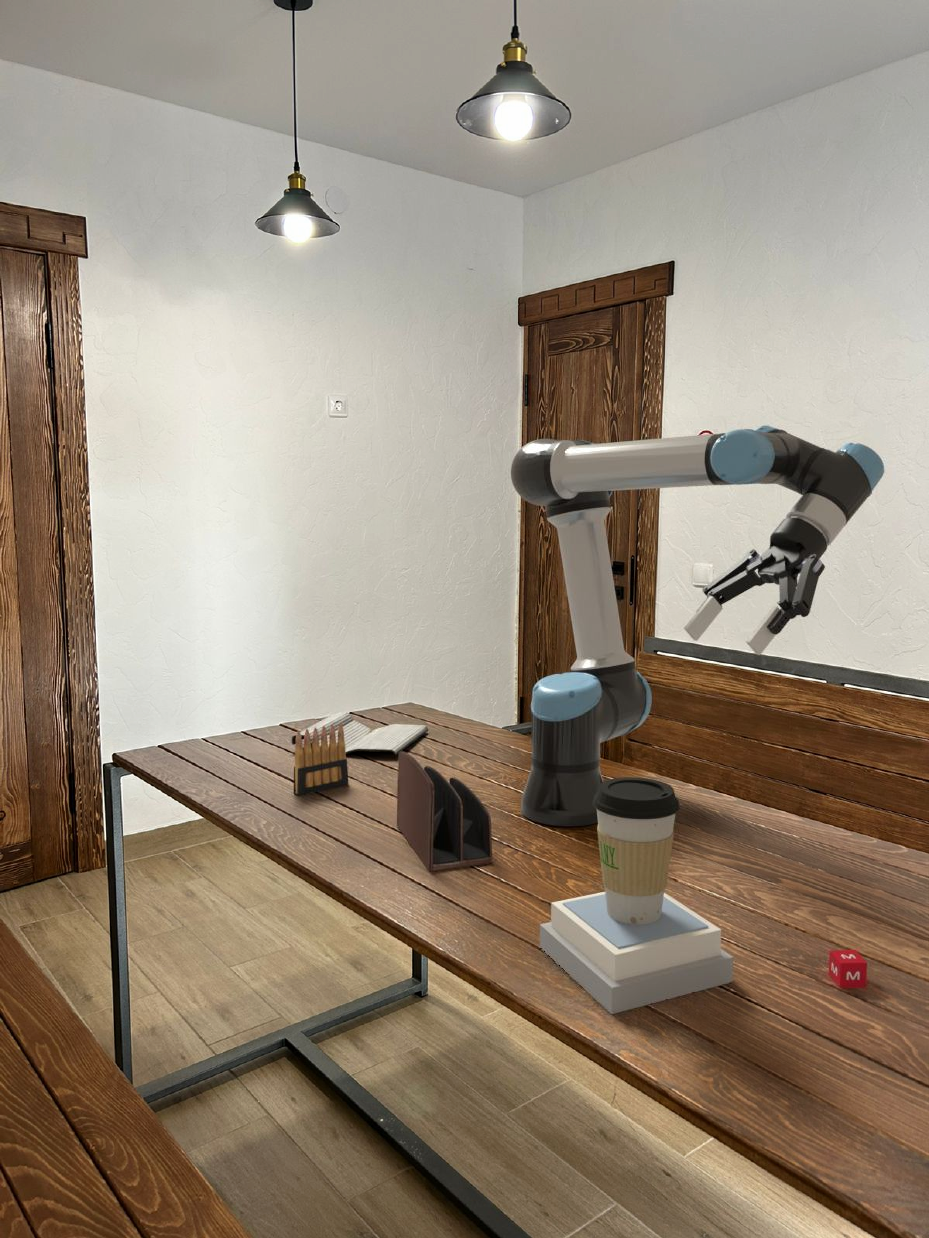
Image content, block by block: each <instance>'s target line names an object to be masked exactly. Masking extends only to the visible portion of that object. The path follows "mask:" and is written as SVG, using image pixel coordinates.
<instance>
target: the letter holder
mask: <svg viewBox="0 0 929 1238" xmlns="http://www.w3.org/2000/svg"><path fill="white" fill-rule="evenodd" d="M397 755H398V756H397V758H398V759H397V760H398V761H397V763H398V766H397V790H396V797H397V798H396V799H397V800H396V827H397V829H398V830H399V831H400V832H401V834H402V835H403V836H404V837H405V838H404V839H406V840H407V842H408V843H409V845H410V846H411V848H412V849H413V851H414V852H415V853H416V854H417V856H418V857H419V859H420V860H421V862H422V863H423V864H424V866H425V867H426V869H427V870H428V872H431V873H432V872H438V871H439V872H440V871H445V870H453V869H460V868H462V869H463V868H467V867H468V868H470V867H474V866H476V867H477V866H481V865H483V866H484V865H489V864H490V865H491V864H493V844H492V843H493V841H492V840H493V837H492V818H491V814H490V812H489V810H488V809H487V807H486V806H485V804H484V803H483V801H481V799H479V797H478V796H477V795H476V793H474V792H473V791H472V790H471V789H470V787H468V786H467V784H465V783H464V782H463V781H461V780H460V779H458V778H456V777H453V776H452V777H450V778H449V780H447V778H446V777H445V776H443V775H442V773H440V772H439V771H438V770H437V769H435V768H433V767H431V766H429V765H426V766H424V767H423V766H422V765H421V764H420V763H419V762H418V761H417V759H416V758H414V756H412V755H411V754H409V753H407V752H405V751H403V750H402V751H401V752H399V753H398V754H397Z"/></svg>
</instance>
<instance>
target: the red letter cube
mask: <svg viewBox="0 0 929 1238" xmlns="http://www.w3.org/2000/svg"><path fill="white" fill-rule="evenodd" d="M867 972H868V962H867V961H866V960H865V958H864V957H862V955H861V954H860V953H859V952H858V951H857V950H856V949H830V950H829V955H828V973H827V975H828V976H829V977H830V978H831V980H832V981H833V982H834V983H835V984H836V985H837V987H838V988H839V989H851V988H853V989H855V988H857V989H859V988H863V989H864V988H865V989H866V988H867V977H868V976H867V975H868V973H867Z"/></svg>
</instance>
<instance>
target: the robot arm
mask: <svg viewBox="0 0 929 1238" xmlns="http://www.w3.org/2000/svg"><path fill="white" fill-rule="evenodd" d="M884 474H885V465H884V462H883V460H882V457H881V456H880V455H879V454H878V453H877V452H876V451H875V450H874V449H872V448H871V447H869V446H867V445H865V444H864V443H859V442H858V443H854V442H848V443H845V444H843V445H842V446H841V447H840V448H838V449H837V451H832V450H830V449H828V448H827V449H826V448H825V447H822V446H818V445H816V444H813V443H811V442H809V441H806V440H805V439H802V438H800V437H797V436H795V435H793V434H791V433H788V431H786V430H784V429H780V428H776V427H773V426H770V425H768V424H767V425H761V426H759V427H758V428H756V429H750V428H746V429H745V428H742V429H733V430H730V431H728V432H723V433H709V434H707V433H706V434H697V435H685V436H675V437H663V438H661V437H660V438H652V439H640V440H639V439H638V440H630V441H629V440H627V441H617V442H615V441H614V442H605V443H593V442H590V441H586V440H582V439H576V440H573V439H572V440H571V439H570V440H569V439H568V440H567V439H553V438H540V439H535V440H532V441H529V442H528V443H526V444H524V445H523V446H522V447H521V448H520V449H518V451H517V453H515V455H514V458H513V460H512V463H511V467H510V477H511V478H510V479H511V483H512V485H513V488H514V490H515V491H516V492H517V494H518V495H519V497H520V498H522V499H523V500H525V501H526V502H528V503H529V504H532V505H535V506H540V507H544V508H545V514H546V520H547V522H549V523H550V525H551V524H552V525H553V526H554V527H555V528H556V531H557V537H558V544H559V551H560V555H561V561H562V568H563V575H564V581H565V586H566V587H565V589H566V593H567V601H568V606H569V613H570V618H571V624H572V633H573V638H574V639H573V640H574V645H575V651H576V659H575V661H574V663H573V664H572V665H571V667H570V672H563V673H561V674H560V673H555V674H551V675H547V676H545V677H543V678H541V679H540V680H538V681H537V682H536V683H535V684H534V686H533V688H532V695H531V703H530V710H531V768H530V771H529V774H528V777H527V781H526V784H525V787H524V790H523V793H522V795H521V802H520V803H521V810H520V811H521V814H522V815H523V816H524V817H525V818H527V819H529V820H530V821H533V822H536V823H538V824H544V825H549V826H554V827H555V826H557V827H583V826H589V825H594V824H598V817H597V809H596V808H595V807H594V806H593V799H594V795H595V794H596V793H597V792H598V788H599V785H600V784H601V783H602V782H604V779H603V776H602V772H601V767H600V765H601V764H600V759H601V743H604V742H607V741H609V740H612V739H615V738H617V737H622V736H625V735H628V734H630V733H631V732H632V731H634V730H635V729H637V728H639V727H640V726H641V725H642V724H643V723H644V722H645V721H646V719H647V718H648V716H649V714H650V712H651V708H652V702H653V700H652V699H653V696H652V690H651V687H650V684H649V683H648V681H647V679H646V678H645V677H643V676H642V674H641V673H640V672H638V671H637V669H636V661H635V658H634V657H633V656H631V655H630V654H629V653H627V652H626V650H625V646H624V641H623V640H624V639H623V634H622V626H621V621H620V614H619V606H618V602H617V601H618V600H617V595H616V590H615V589H616V588H615V581H614V576H613V569H612V563H611V556H610V551H609V549H610V548H609V543H608V538H607V537H608V536H607V530H606V525H605V519H606V518H607V516H608V515H609V513H610V512H611V510H612V509H611V501H610V497H611V496H612V494H613V492H614V491H626V490H627V491H630V490H645V489H646V490H647V489H648V490H649V489H666V488H667V489H668V488H669V489H670V488H684V487H685V488H686V487H687V488H688V487H704V486H705V487H707V486H708V487H709V486H729V485H730V486H733V485H736V486H737V485H738V486H739V485H740V486H742V485H755V484H759V485H779V486H780V487H783V488H785V489H788V490H791V491H793V492H795V493H798V494H799V495H801V496H800V498H799V499H798V500H797V502H796V503H795V504H794V505H793V506H792V508H791V509H790V510H789V511H788V512H787V514H786V516H785V518H783V520H781V521H780V522H779V524H778V525H777V526H776V528H775V529H774V530H773V531H772V533H771V535H770V537H769V548H768V549H767V550H765V551H764V552H762V553H758V552H757V550H756V549H755V548H751V549H749V550H748V551H747V552H746V553H745V554H744V555H743V557H741V559H740V560H738V561H737V562H735V563H734V564H733V565H731V566H730V567H729V568H728V569H726V570H725V571H724V572H722V573H721V574H720V575H718V576H716V578H714V579H713V580H712V581H710V582H708V584H707V585H705V586H704V587H702V590H701V591H702V592H703V594H704V595H705V596H706V598H705V600H704V601H703V603H701V605H700V606H699V608H698V609H696V612H695V614H694V615H693V616H692V617H691V618H690V620H689V621H688V622H687V624H686V625H685V626H684V627H683V629H684V630H685V632H686V633H687V634H688V636H690V637H691V638H692V640H693V641H696V642H697V641H698V640H699V639H700V638H701V636H702V635H704V633H705V632H706V630H707V629H708V628H709V626H710V625H711V624H712V623H714V622H713V621H715V620H716V617H718V615H719V614H720V613H721V611H723V609H724V608H723V605H724V604H726V603H727V602H729V601H731V600H732V599H734V598H736V597H738V596H740V595H741V594H743V593H745V592H747V591H748V590H750V589H752V588H754V587H756V586H758V587H762V586H764V585H765V584H775V585H777V586H779V588H778V589H779V601H777V602H776V603H777V605H778V606H779V607H778V606H777V605H773V606H772V607H771V609H770V610H769V611H768V612H767V614H766V615H765V617H763V619H762V620H760V622H759V624H758V625H757V626H756V627H755V629H754V630H753V632H751V634H750V635H749V636H748V638H747V639H746V640H745V643H746V644H747V645H748V646H749V648H750V649H751V651H753V652H754V653H755V655H757V656H761V654H763V652H764V651H765V649H766V648H767V647H768V646H769V645H770V643H771V642H772V640H773V639H774V638H775V636H777V635H778V634H780V633H781V632H782V630H783V629H784V628H785V627H786V625H788V623H789V621H791V620H793V619H796V617H797V616H801V617H802V618H806V617H808V616H809V615H810V613H811V609H812V605H813V601H814V597H815V593H816V590H817V585H818V581H819V577H820V576H821V575H822V574H823V572H824V570H825V568H826V565H824V563H823V562H822V560H821V558H822V556H823V555H824V554H825V552H826V551H827V549H828V547H829V546H830V545H832V543H833V542H834V540H835V539H836V538H837V536H839V534H840V532H841V531H842V530H843V529H844V527H845V526H846V525H847V524H848V522H849V521H850V520H851V519H852V518H853V516H854V515H855V514H856V513H857V512H858V511H859V509H860V508H861V507H862V505H863V504H864V503H865V502H866V501H867V499H868V498H869V497H871V495H872V494H873V491H874V490H875V488H876V487H877V485H878V483H879V482H881V479H882V477H883V476H884ZM756 570H757V572H756ZM798 577H799V578H798Z"/></svg>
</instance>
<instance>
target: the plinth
mask: <svg viewBox="0 0 929 1238" xmlns="http://www.w3.org/2000/svg"><path fill="white" fill-rule="evenodd" d="M550 918H551V919H550V921H549V922H544V923H540V924H539V948H542V949H541V951H542V952H544V951H545V952H544V954H546V955H547V956H548V955H549V956H550V957H549V956H548V957H549V958H550V959H551V958H552V959H553V960H554V961H555V962H554V961H553V960H552V959H551V960H552V961H553V962H554V963H556V965H557V966H559V965H560V966H559V967H560V968H561V969H562V968H563V969H564V970H565V971H564V970H563V969H562V970H563V971H564V972H565V973H566V972H567V973H568V974H569V976H570V978H571V979H572V980H574V981H575V980H576V981H575V982H576V983H577V982H578V983H577V984H578V985H579V986H580V985H581V986H582V987H583V988H582V987H581V986H580V987H581V988H582V989H583V990H585V991H586V992H587V993H588V994H589V995H590V996H591V997H592V998H593V999H595V1001H596V1002H597V1003H598V1004H600V1005H601V1006H602V1007H603V1008H604V1010H606V1011H607V1012H608V1013H609V1014H610V1015H614V1014H619V1013H622V1012H626V1011H629V1010H633V1009H636V1008H641V1007H644V1006H649V1005H651V1003H652V1004H655V1003H660V1002H663V1001H667V1000H670V999H674V998H677V997H678V996H679V997H681V996H682V997H683V996H685V995H689V994H693V993H692V992H694V993H696V992H700V991H701V992H702V991H704V990H708V989H713V988H717V987H720V986H723V984H724V985H726V984H730V982H731V983H733V981H734V980H733V978H734V977H733V976H734V971H733V970H734V956H732V955H731V954H730V953H728V952H726V951H725V950H724V949H723V948H722V929H721V928H719V927H718V926H716V925H715V924H713V923H712V922H710V921H708V920H707V919H706V918H704V917H702V916H701V915H699V914H698V913H697V912H695V911H693V910H691V908H689V907H687V906H686V905H684V904H682V903H681V902H680V901H678V900H676V898H673V896H671V895H669V894H667V893H666V892H664V897H663V904H662V911H661V917H660V919H659V920H657V921H656V922H653V923H650V924H645V925H631V924H625V923H621V922H619V921H616V920H614V919H612V918H611V917H610V916H609V915H608V913H607V906H606V896H605V891H602V892H597V893H593V894H592V893H591V894H587V895H583V896H578V897H577V896H576V897H573V898H568V899H563V900H559V901H552V902H551V904H550ZM567 973H566V974H567ZM568 974H567V975H568ZM666 999H667V1000H666Z"/></svg>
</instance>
